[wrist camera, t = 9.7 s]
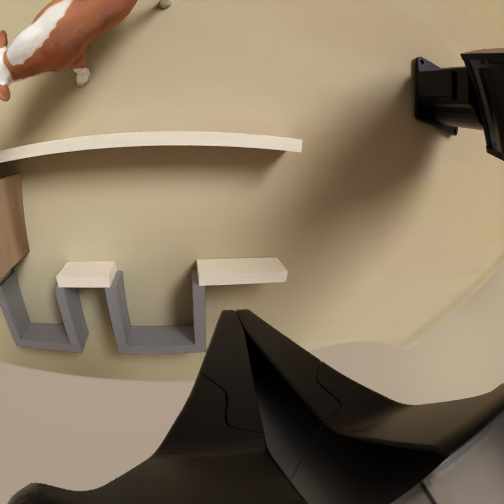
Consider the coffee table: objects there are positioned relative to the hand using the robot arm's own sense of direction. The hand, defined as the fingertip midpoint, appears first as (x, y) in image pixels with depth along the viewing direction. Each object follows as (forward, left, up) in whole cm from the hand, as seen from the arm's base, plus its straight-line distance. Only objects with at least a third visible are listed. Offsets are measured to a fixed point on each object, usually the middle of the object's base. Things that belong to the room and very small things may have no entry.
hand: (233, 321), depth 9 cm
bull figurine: (+8, -13, -12) cm, 19 cm away
